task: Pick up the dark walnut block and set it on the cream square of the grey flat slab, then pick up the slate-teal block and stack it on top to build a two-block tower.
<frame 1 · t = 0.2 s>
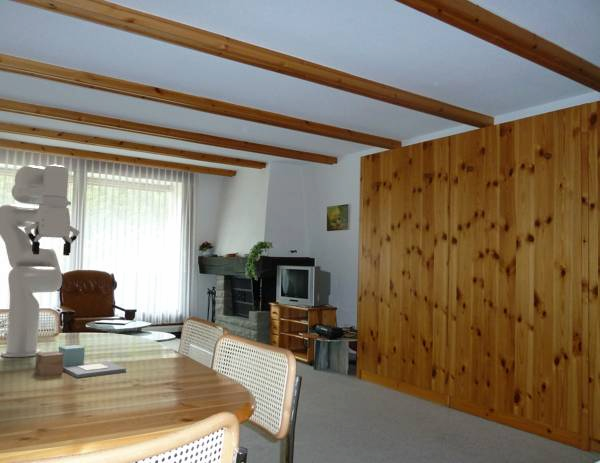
hand: (51, 254, 169), 36 cm above the table, tool pointing down, fingers open, 9 cm apart
teal block: (70, 365, 169), on the table
walnut block: (48, 373, 157), on the table
grey flat slab: (93, 370, 162), on the table
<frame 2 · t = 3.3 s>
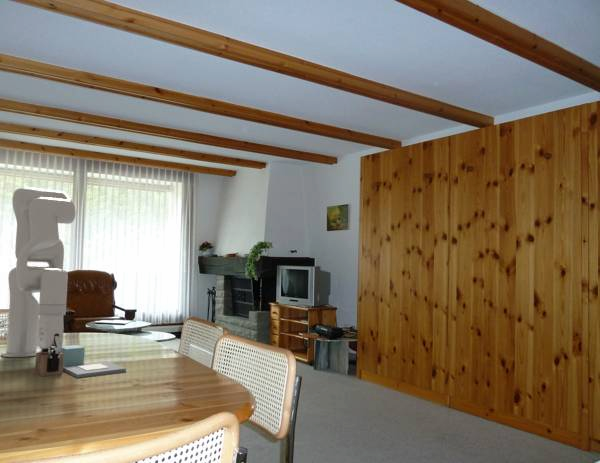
hand: (48, 368, 157), 1 cm above the table, tool pointing down, fingers closed on walnut block, 6 cm apart
walnut block: (48, 373, 157), on the table, touching gripper
everything else where it was.
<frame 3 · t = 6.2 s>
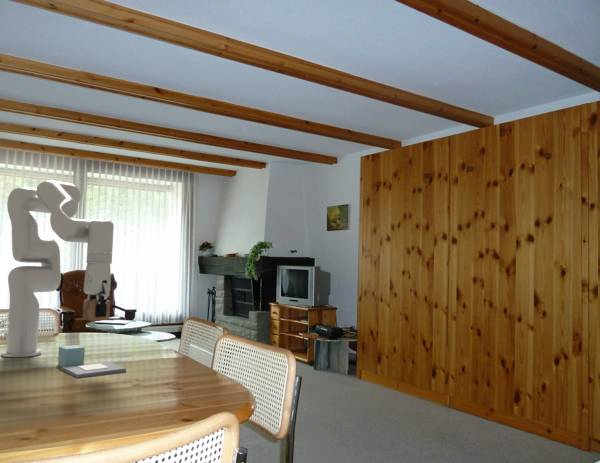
hand: (96, 315, 163), 17 cm above the table, tool pointing down, fingers closed on walnut block, 6 cm apart
walnut block: (95, 319, 163), point 16 cm above the table, touching gripper
everything else where it was.
when the fingers open (4 cm above the table, at t = 9.1 s): walnut block drops 1 cm, resting on grey flat slab.
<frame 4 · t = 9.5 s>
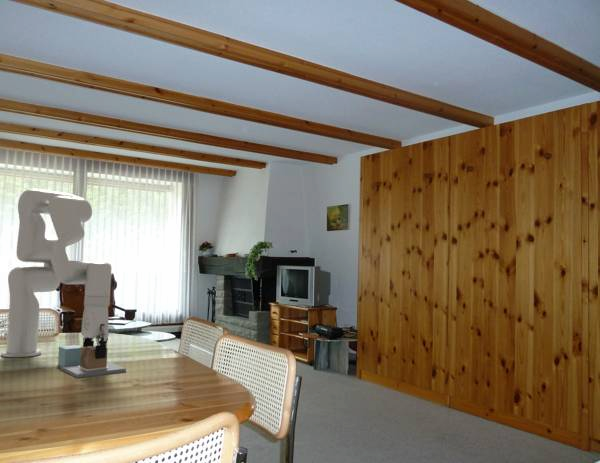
hand: (93, 355, 163), 5 cm above the table, tool pointing down, fingers open, 9 cm apart
walnut block: (93, 366, 162), point 1 cm above the table, touching grey flat slab
everything else where it was.
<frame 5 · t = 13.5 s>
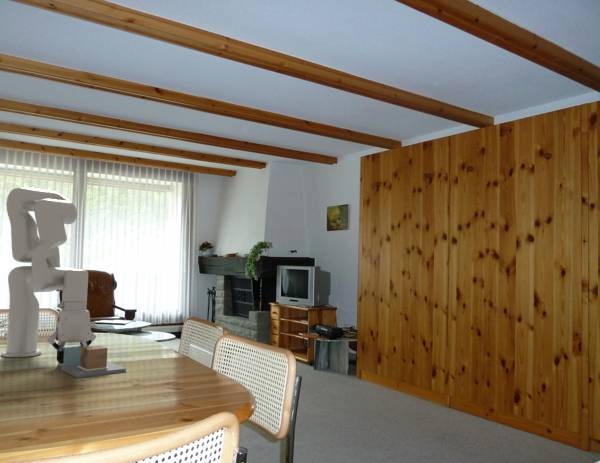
hand: (71, 361, 169), 1 cm above the table, tool pointing down, fingers closed on teal block, 6 cm apart
teal block: (70, 365, 169), on the table, touching gripper
everything else where it was.
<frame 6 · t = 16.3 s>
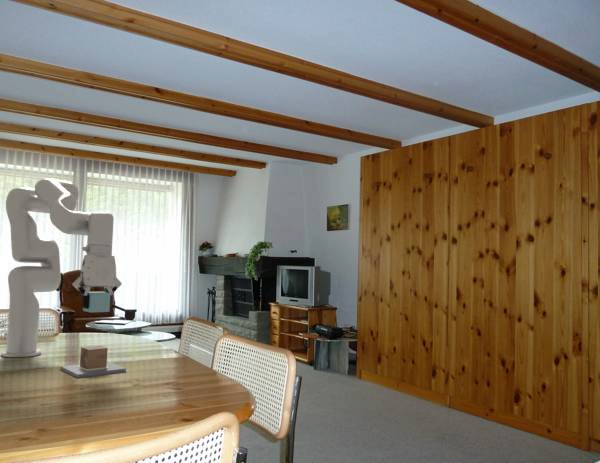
hand: (96, 307, 164), 20 cm above the table, tool pointing down, fingers closed on teal block, 6 cm apart
teal block: (96, 311, 163), point 19 cm above the table, touching gripper
everything else where it was.
when the fingers open (10 cm above the table, at t = 19.1 s): teal block drops 1 cm, resting on walnut block.
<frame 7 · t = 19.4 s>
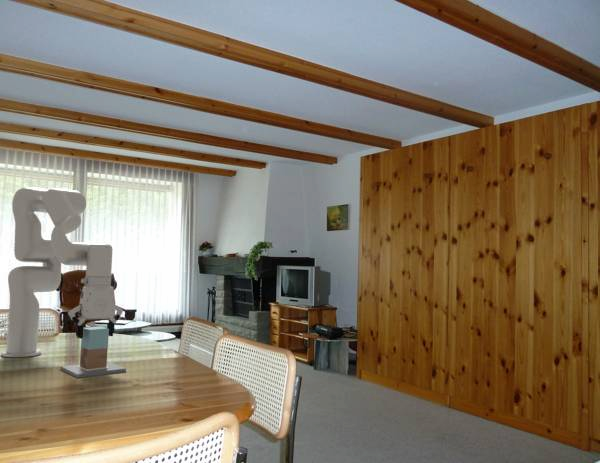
hand: (95, 336, 163), 11 cm above the table, tool pointing down, fingers open, 9 cm apart
teal block: (94, 347, 163), point 7 cm above the table, touching walnut block
walnut block: (93, 366, 162), point 1 cm above the table, touching grey flat slab, teal block
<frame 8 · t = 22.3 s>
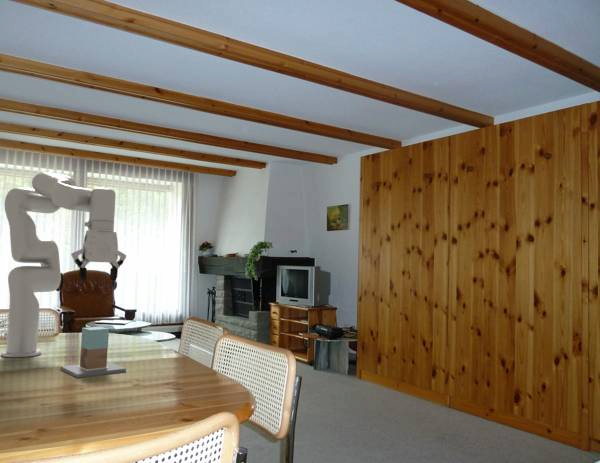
hand: (98, 280, 164), 28 cm above the table, tool pointing down, fingers open, 9 cm apart
nothing on the table moved.
at the end: walnut block 0.1 cm off-centre on the grey flat slab, point 1.2 cm above the grey flat slab's base; teal block 0.1 cm off-centre on the grey flat slab, point 7.2 cm above the grey flat slab's base; teal block tilted 0° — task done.
